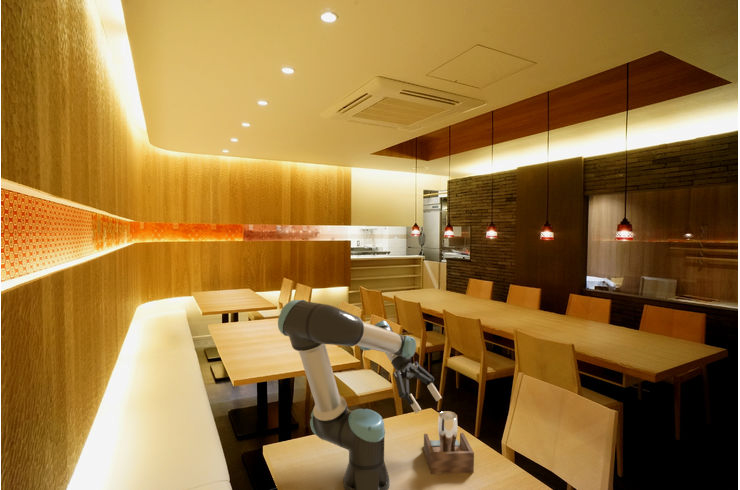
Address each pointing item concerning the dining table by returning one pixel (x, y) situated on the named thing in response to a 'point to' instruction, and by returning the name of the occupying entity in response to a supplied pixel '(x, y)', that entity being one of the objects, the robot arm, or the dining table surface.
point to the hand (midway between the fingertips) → (429, 405)
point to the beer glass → (447, 431)
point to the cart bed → (449, 456)
